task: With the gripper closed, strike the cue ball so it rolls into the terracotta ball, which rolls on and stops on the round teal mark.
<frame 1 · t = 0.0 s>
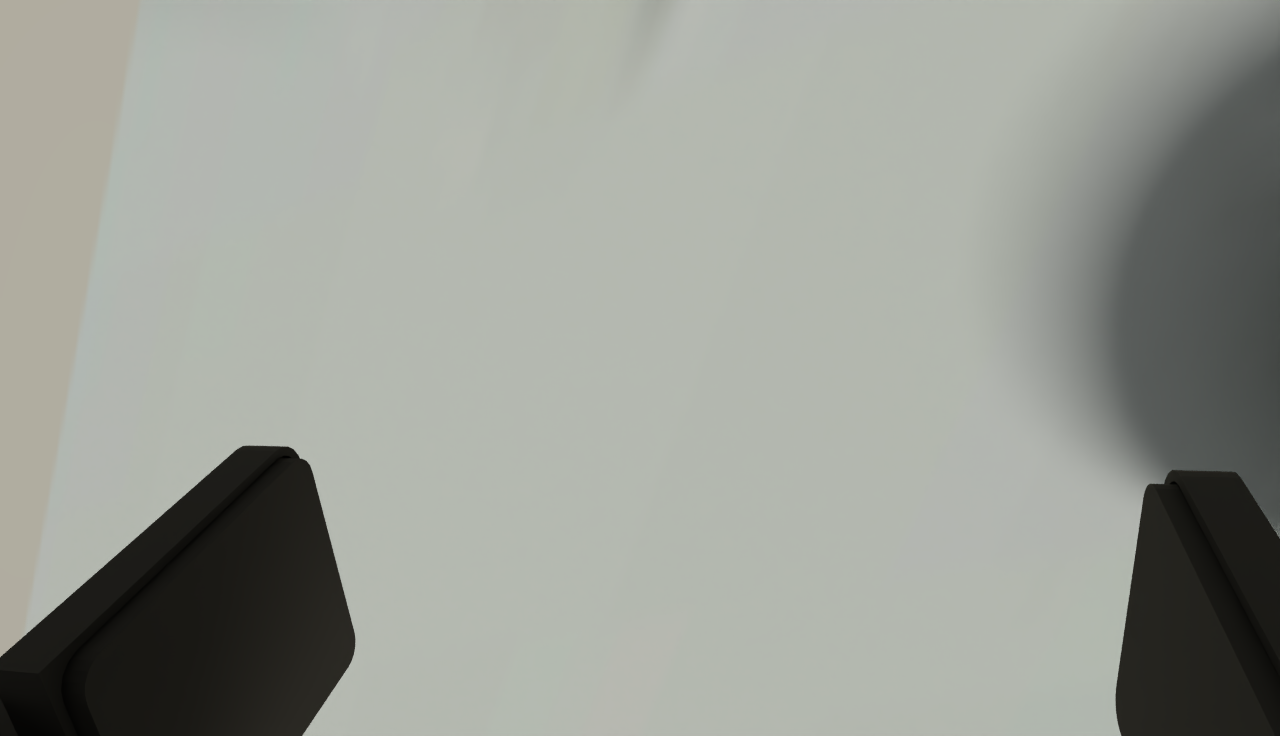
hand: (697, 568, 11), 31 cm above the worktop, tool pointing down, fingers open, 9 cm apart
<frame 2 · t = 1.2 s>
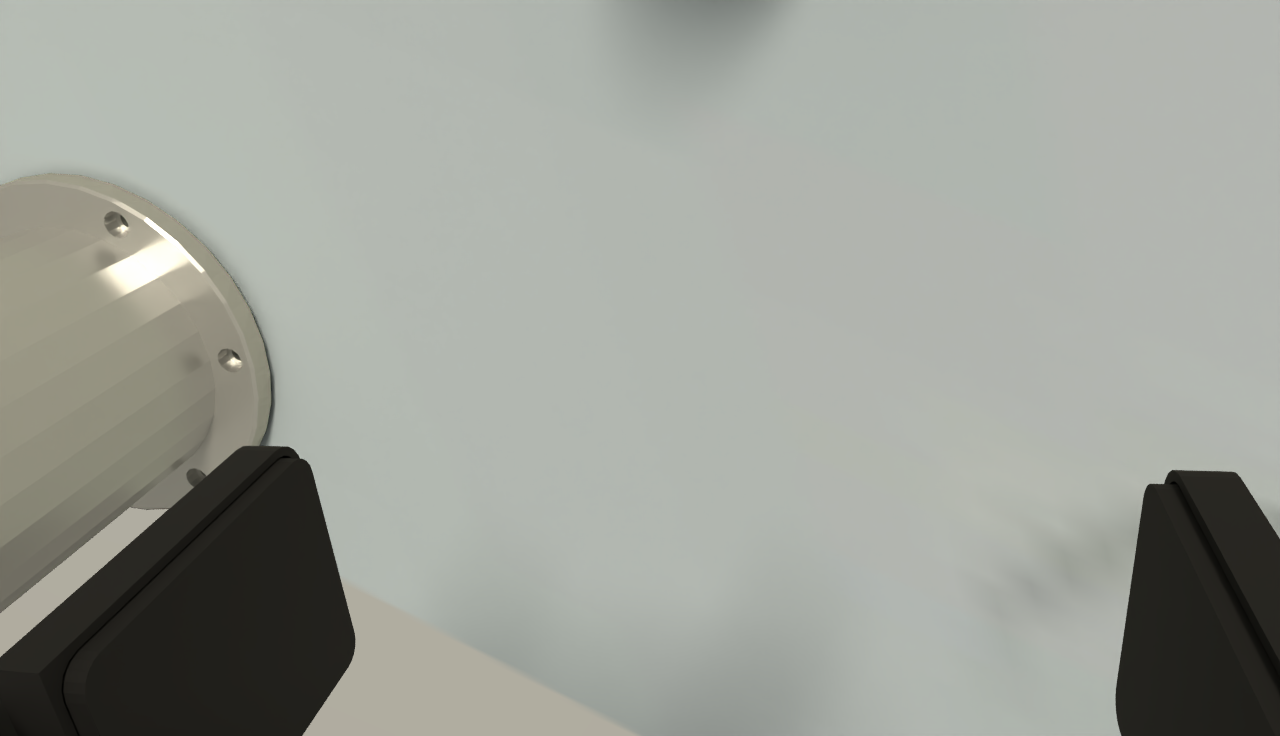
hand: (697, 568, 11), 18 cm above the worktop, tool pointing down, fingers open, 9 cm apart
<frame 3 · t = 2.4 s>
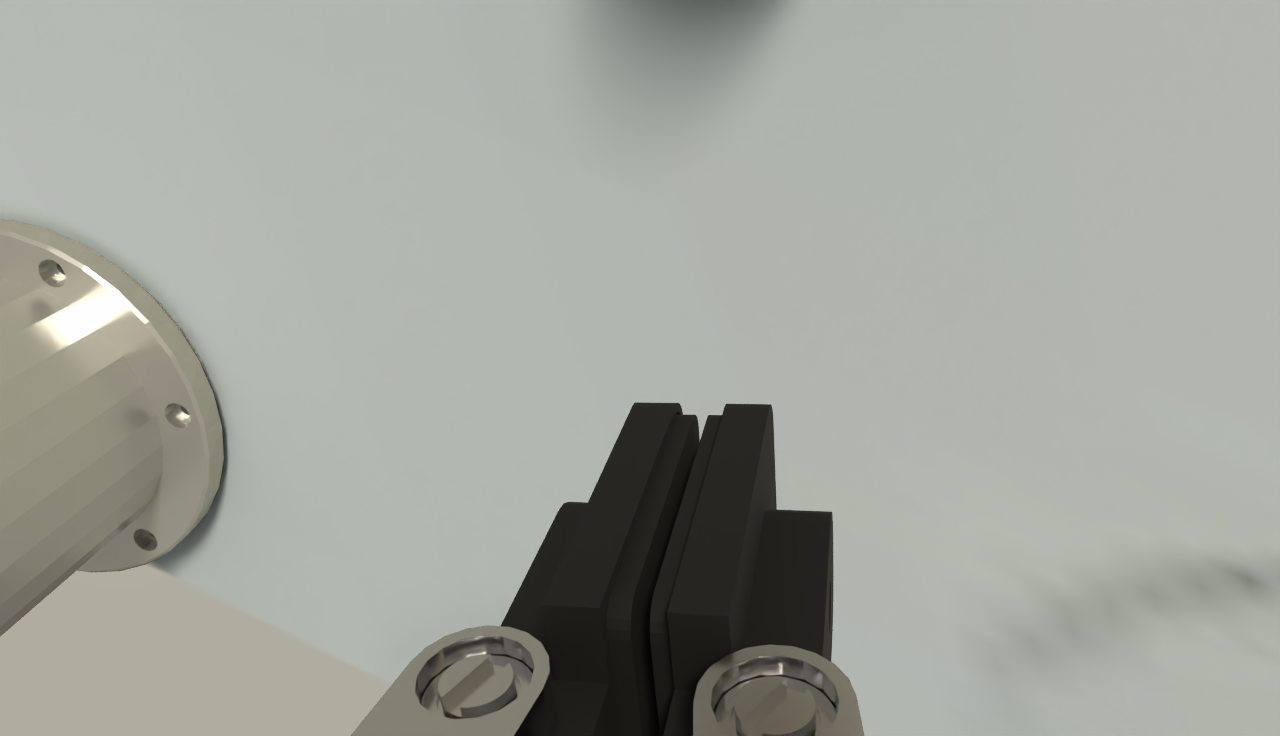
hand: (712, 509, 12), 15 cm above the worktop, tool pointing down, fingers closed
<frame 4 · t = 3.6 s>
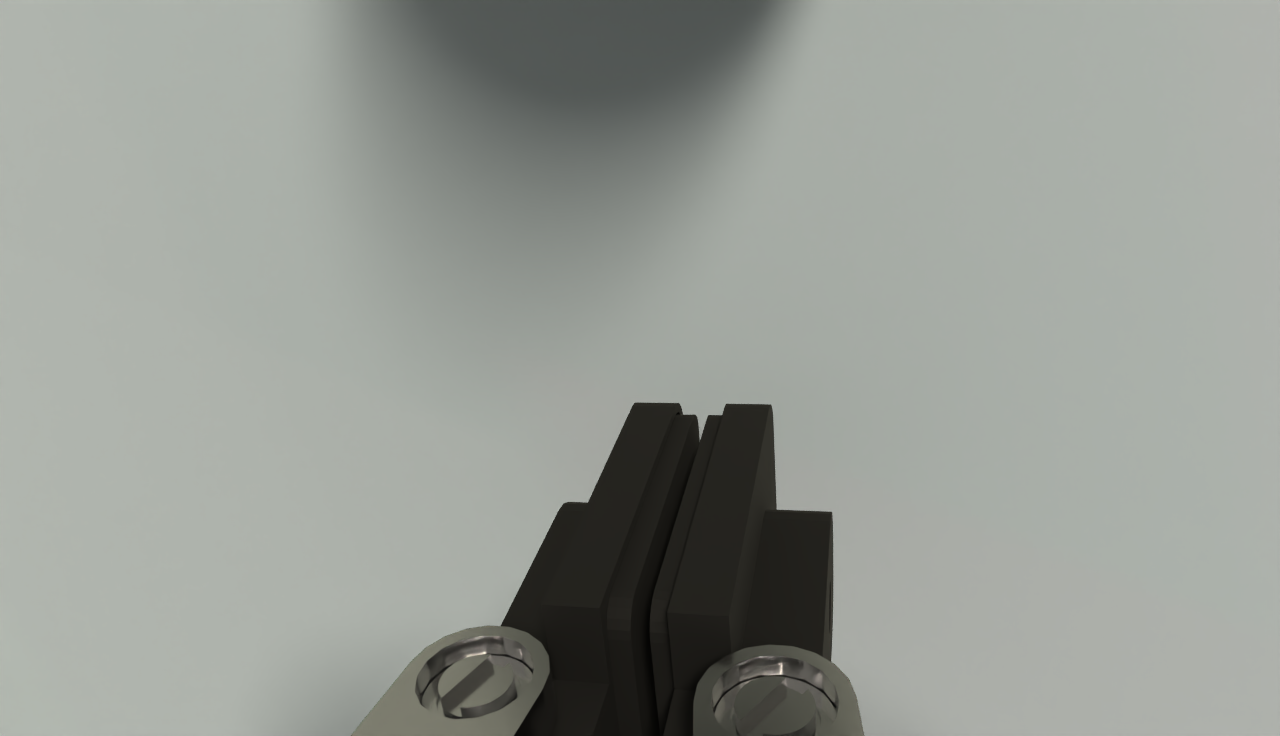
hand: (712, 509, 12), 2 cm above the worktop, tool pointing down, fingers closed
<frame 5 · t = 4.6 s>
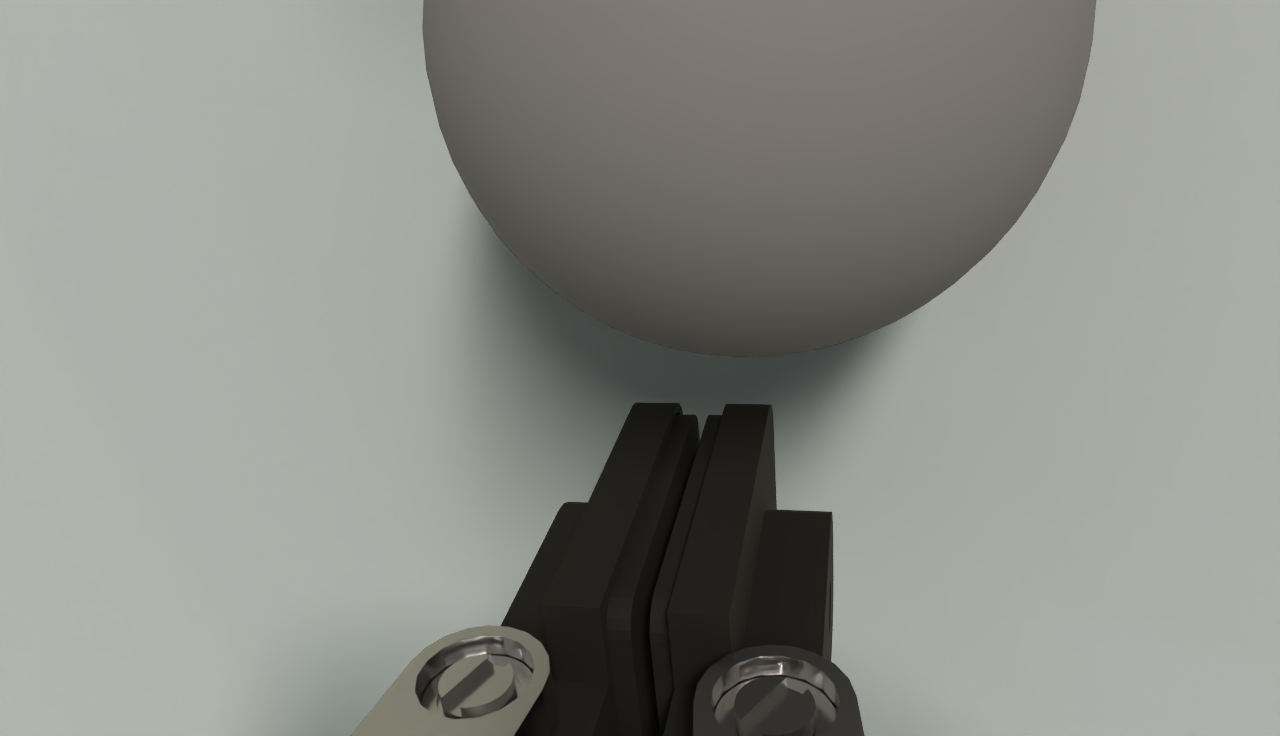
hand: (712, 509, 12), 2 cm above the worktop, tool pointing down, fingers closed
cue ball: (747, 40, 9), on the worktop
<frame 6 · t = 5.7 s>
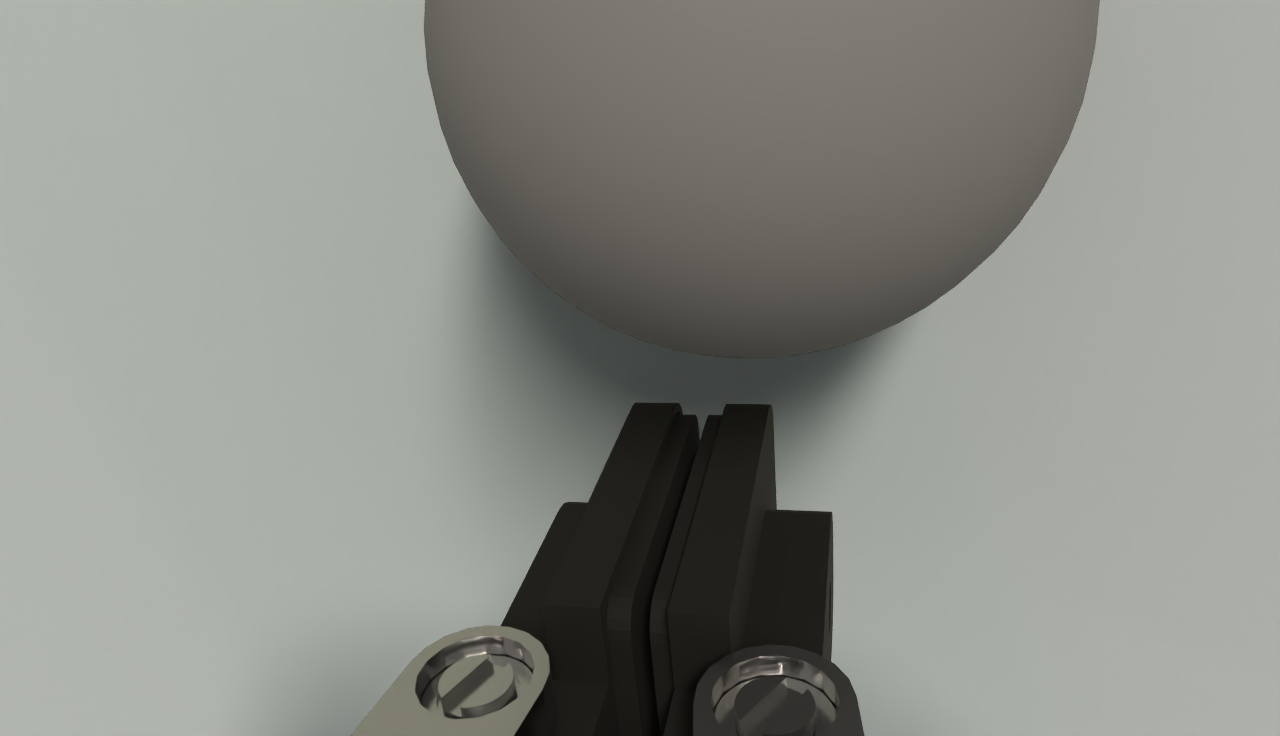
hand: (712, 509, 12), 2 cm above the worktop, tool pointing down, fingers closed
cue ball: (749, 40, 9), on the worktop
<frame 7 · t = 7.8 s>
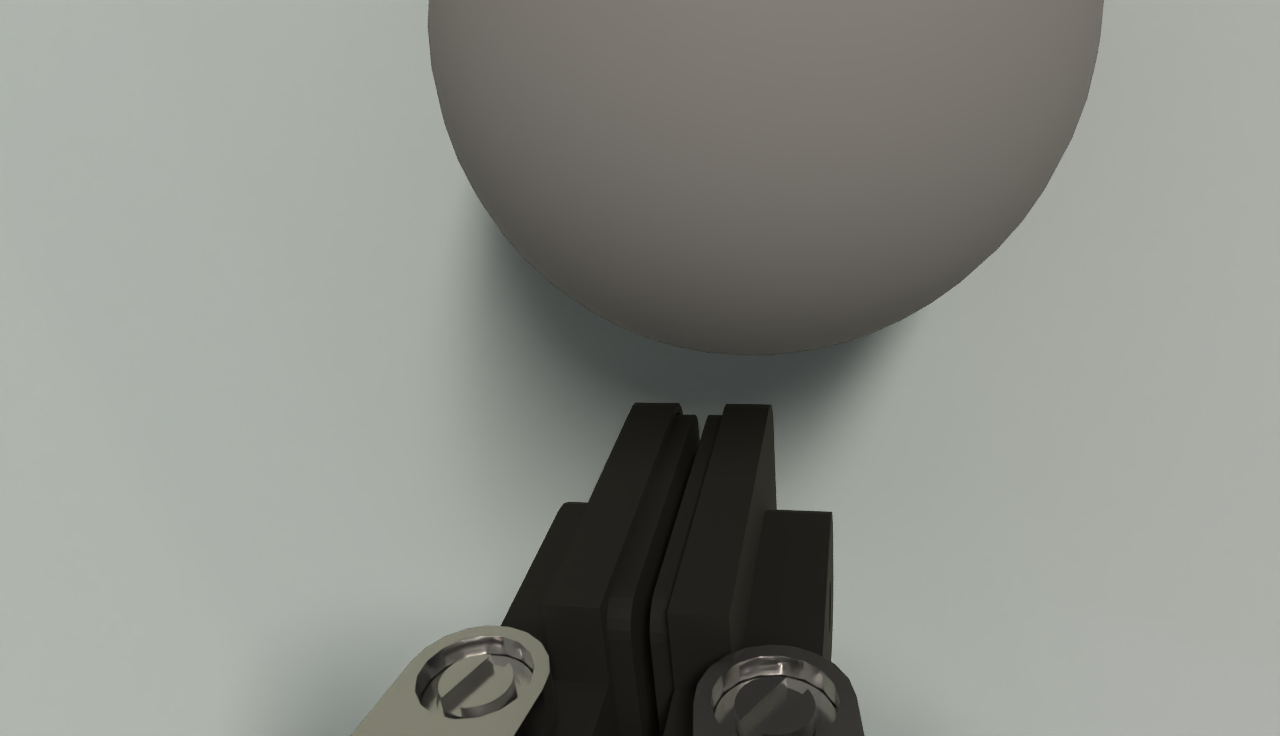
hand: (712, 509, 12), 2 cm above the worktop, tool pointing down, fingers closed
cue ball: (752, 37, 9), on the worktop
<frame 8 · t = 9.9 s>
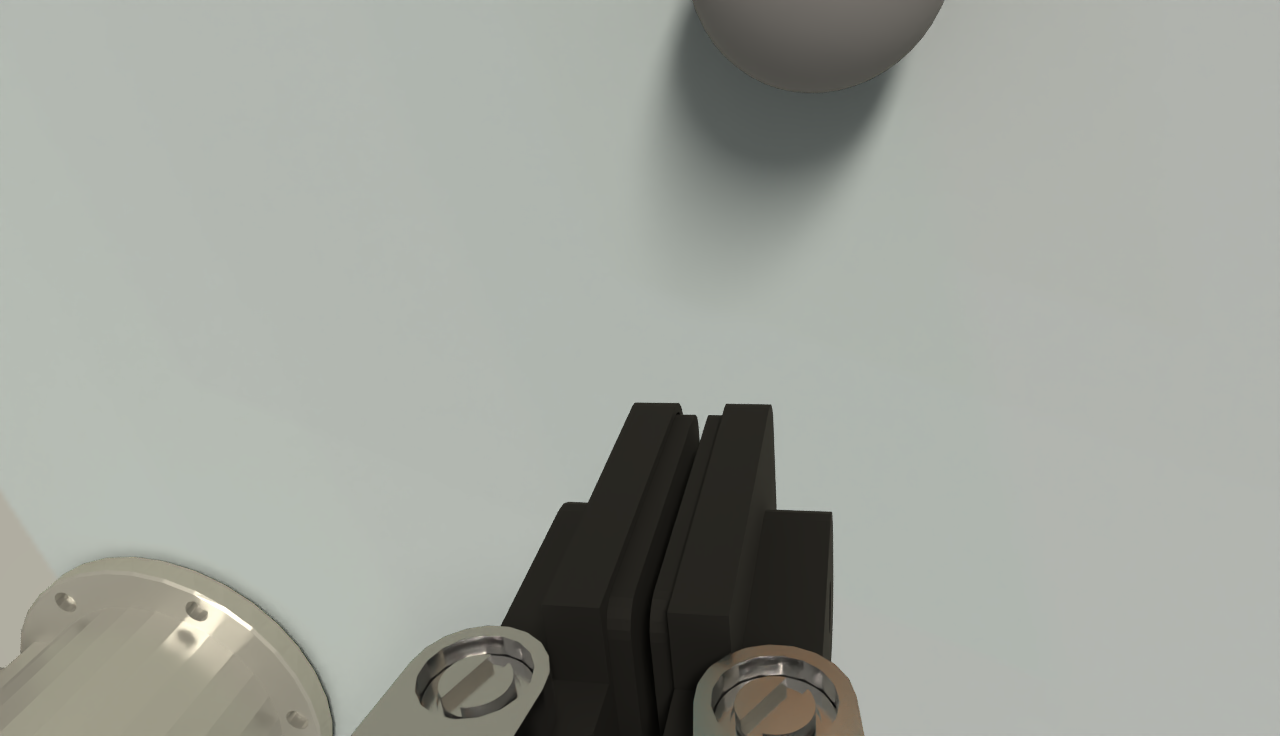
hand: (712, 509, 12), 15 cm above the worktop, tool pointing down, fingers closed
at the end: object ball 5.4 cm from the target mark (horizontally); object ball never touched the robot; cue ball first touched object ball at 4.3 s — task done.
